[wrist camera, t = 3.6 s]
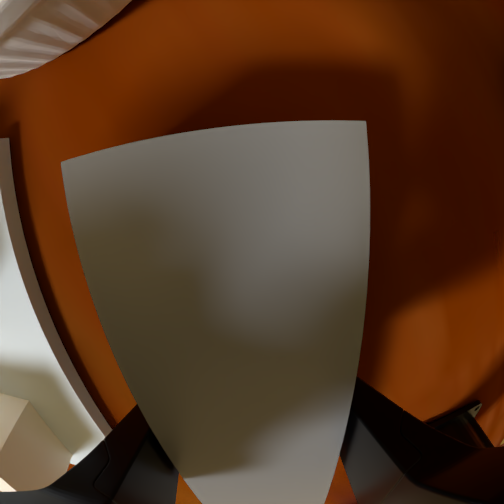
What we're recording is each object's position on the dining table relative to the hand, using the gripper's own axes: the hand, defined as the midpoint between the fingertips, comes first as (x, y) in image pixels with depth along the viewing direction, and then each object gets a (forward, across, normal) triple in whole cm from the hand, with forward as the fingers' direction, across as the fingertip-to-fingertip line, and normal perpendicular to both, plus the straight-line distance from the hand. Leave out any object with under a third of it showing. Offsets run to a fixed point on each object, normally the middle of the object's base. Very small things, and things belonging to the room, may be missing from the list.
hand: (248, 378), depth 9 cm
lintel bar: (+1, 0, 0) cm, 1 cm away
